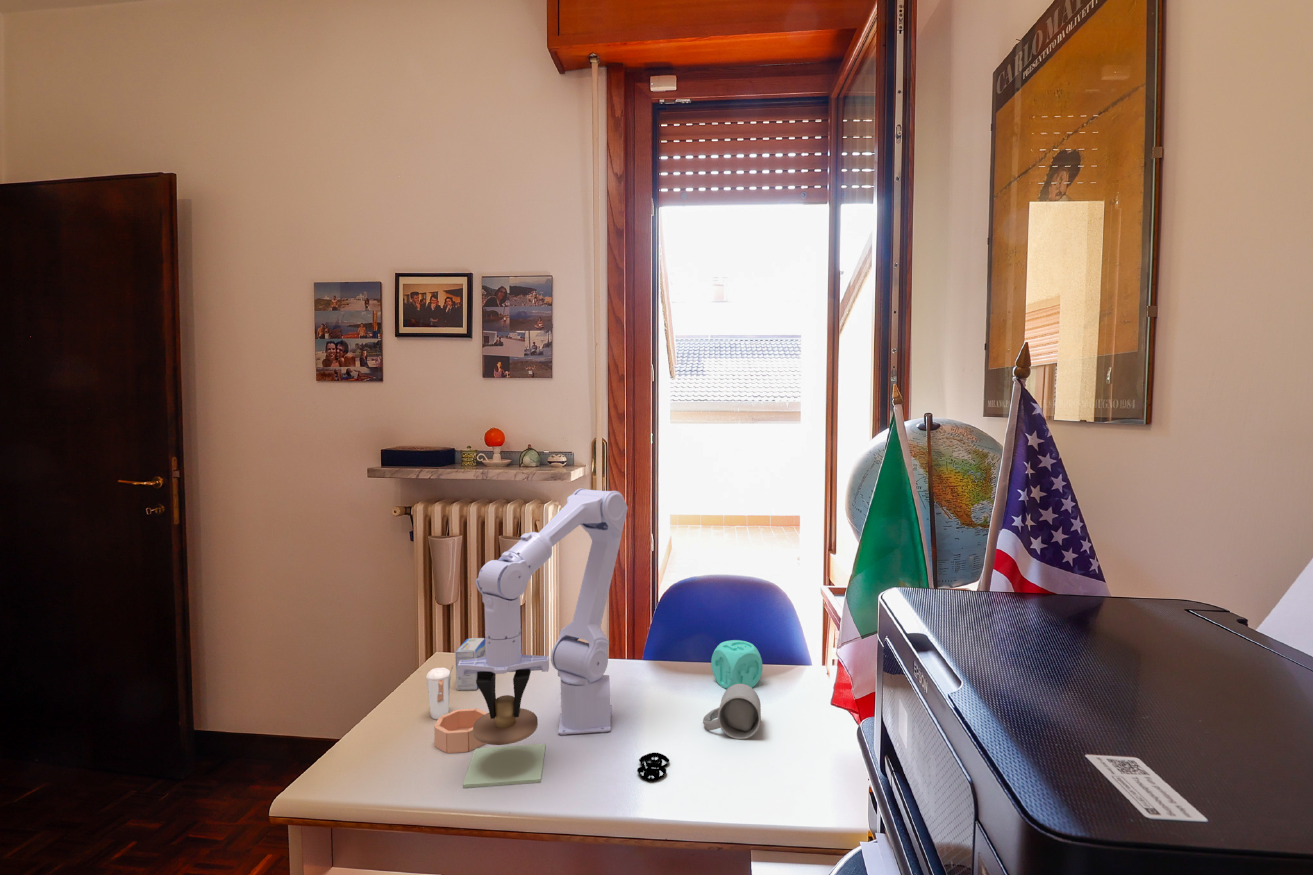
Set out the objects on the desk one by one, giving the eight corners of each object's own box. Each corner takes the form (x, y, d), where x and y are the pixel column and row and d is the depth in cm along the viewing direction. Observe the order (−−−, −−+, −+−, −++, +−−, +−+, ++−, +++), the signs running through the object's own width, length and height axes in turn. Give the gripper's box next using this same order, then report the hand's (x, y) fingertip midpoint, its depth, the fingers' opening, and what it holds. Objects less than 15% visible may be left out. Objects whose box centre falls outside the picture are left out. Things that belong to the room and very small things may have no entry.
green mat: (545, 746, 112) (545, 743, 112) (540, 782, 102) (540, 779, 102) (475, 751, 111) (475, 748, 111) (462, 787, 100) (462, 784, 100)
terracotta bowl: (492, 725, 120) (491, 707, 120) (484, 750, 111) (483, 730, 111) (443, 728, 120) (442, 710, 119) (431, 754, 111) (430, 734, 110)
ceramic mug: (761, 719, 121) (759, 679, 121) (761, 741, 113) (760, 698, 113) (705, 717, 123) (703, 677, 123) (701, 738, 115) (700, 696, 115)
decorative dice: (711, 680, 139) (710, 644, 139) (741, 672, 143) (740, 637, 143) (732, 694, 132) (731, 656, 132) (763, 686, 136) (763, 648, 136)
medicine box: (476, 690, 136) (475, 650, 136) (455, 691, 136) (454, 650, 136) (487, 675, 144) (486, 637, 144) (467, 675, 144) (466, 637, 144)
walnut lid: (537, 709, 113) (536, 682, 112) (537, 740, 102) (537, 711, 102) (476, 715, 111) (475, 688, 110) (470, 748, 100) (469, 718, 100)
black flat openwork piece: (634, 783, 101) (634, 777, 101) (641, 757, 109) (641, 750, 109) (666, 785, 101) (666, 778, 101) (670, 758, 109) (670, 752, 109)
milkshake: (448, 722, 122) (446, 670, 122) (422, 720, 123) (421, 668, 123) (460, 711, 127) (458, 661, 126) (435, 709, 128) (434, 659, 127)
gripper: (452, 644, 101) (455, 729, 101) (546, 640, 102) (547, 723, 103) (461, 629, 108) (464, 709, 108) (549, 625, 109) (550, 704, 110)
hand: (505, 715), depth 106 cm, fingers closed on walnut lid, 3 cm apart
